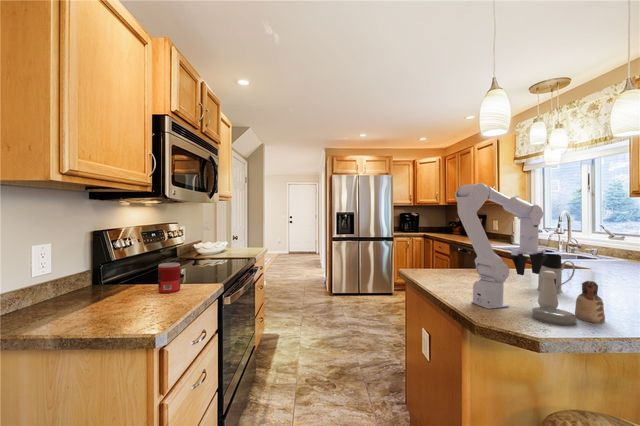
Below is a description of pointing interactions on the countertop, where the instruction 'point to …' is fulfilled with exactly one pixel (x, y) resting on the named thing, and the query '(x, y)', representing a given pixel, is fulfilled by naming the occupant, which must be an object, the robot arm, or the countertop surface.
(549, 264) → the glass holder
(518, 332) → the countertop surface
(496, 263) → the robot arm
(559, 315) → the coaster
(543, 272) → the salt shaker
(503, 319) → the countertop surface
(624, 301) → the countertop surface
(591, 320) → the figurine
